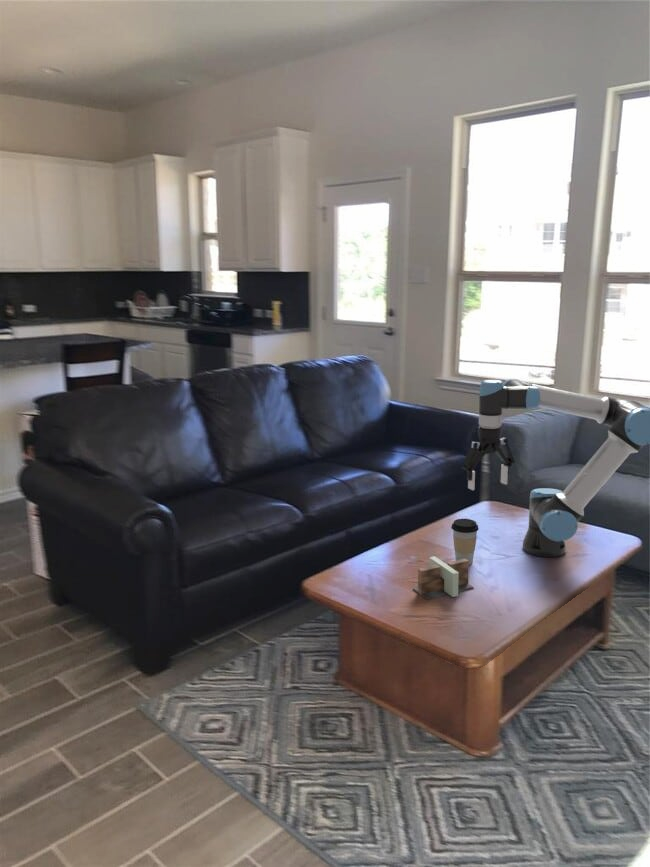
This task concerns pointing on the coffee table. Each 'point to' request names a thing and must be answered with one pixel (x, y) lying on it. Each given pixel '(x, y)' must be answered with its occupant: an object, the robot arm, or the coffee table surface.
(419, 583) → the brown piece
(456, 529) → the coffee cup
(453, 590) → the pale green upright panel
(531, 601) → the coffee table surface
